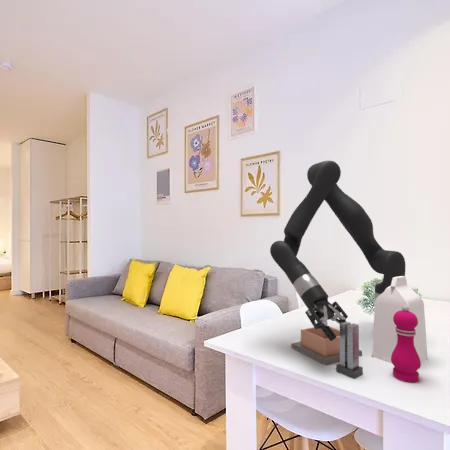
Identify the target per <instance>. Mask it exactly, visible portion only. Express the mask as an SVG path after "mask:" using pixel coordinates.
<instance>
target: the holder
mask: <svg viewBox="0 0 450 450" xmlns="http://www.w3.org/2000/svg"><path fill="white" fill-rule="evenodd" d="M328 326H329V327H330V328H331V330H332V331H333V332H334V334H335V335H336V338H335V339H334V340H333V341H330V340H329V339H328V338H327V336H326V335H325V333H324V332H323V330H320V329H319V328H318V329H315V328H314V326H312V327H308V328H302V329H300V340H299V341H296V342H291V348H292V349H293V350H296V351H298V352H300V353H302V354H304V355H305V356H307V357H310V358H311V359H313V360H315V361H317V362H319V363H321V364H323V365H325V366H328V365H331V364H335V363H336V364H337V363H338V362H339V363H340V329H337V328H335V327H332V326H330V325H328ZM361 356H363V350H361V349H359V357H361Z"/></svg>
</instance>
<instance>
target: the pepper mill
mask: <svg viewBox="0 0 450 450" xmlns="http://www.w3.org/2000/svg"><path fill="white" fill-rule="evenodd" d="M408 310H409V307H408V306H406V305H404V306H402V310H401V311H398V312H396V313H395V314H394V317H393V321H394V323H395V325H396V326H397V327H395V329H396V330H395V332H396V333H397V344H396V347H395V349H394V350H393V352H392V355H391V362H392V363H391V364H392V365H393V366H394V367H393V368H392V375H393V377H394V378H396V379H397V380H399V381H403V382H407V383H416V382H418V381H419V380H420V375H419V374H420V373H419V372H418V371H419V370H420V368H421V366H422V363H421V362H420V358H419V355H418V353H417V351H416V349H415V346H414V336H415V335H416V333H415V332H416V330H415V329H414V328H415V327H416V326H417V325H418V319H417V317H416V315H415V314H414V313H412V312H410V311H408Z"/></svg>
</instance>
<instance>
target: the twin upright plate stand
mask: <svg viewBox="0 0 450 450" xmlns="http://www.w3.org/2000/svg"><path fill="white" fill-rule="evenodd" d="M359 328H360V326H359V324H357V323H351V322H350V321H349V322H348V321H346V322H343V323H340V324H339V330H340V361H339V363H336V364H335V367H336V368H335V372H336V373H338V374H341V375H344V376H346V377H349V378H350V379H353V380H356V379H357V378H359V377H361V376H363V374H364V373H363V367H362V366H360V356H359V350H360V347H359V346H360V340H359V339H360V338H359V337H360V329H359Z"/></svg>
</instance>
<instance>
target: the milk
mask: <svg viewBox="0 0 450 450" xmlns="http://www.w3.org/2000/svg"><path fill="white" fill-rule="evenodd" d="M404 305H406V306H408V307H409V310H408V311H410V312H412V313H414V314H415V315H416V317H417V319H418V325H417V326H416V327H415V328H414V329H415V330H416V332H415V333H416V335H415V336H414V346H415V349H416V351H417V353H418V355H419V358H420V362H421V364H423V363H424V362H426V361H428V360H429V358H428V346H427V345H428V343H427V330H426V328H427V327H426V316H425V302H424V300H423V299H422V297H421V296H420V295H419V294H418V293H417V292H415V290H414V289H413V288H411V286H409V285H408V282H407V277H406V275H405V276H398V277H393V278H392V282H391V286H389V287H387V288H386V289H385V291H384V292H383V293H382V294H380V295H379V296H378V297H377V298H376V300H375V299H374V312H373V313H374V314H373V333H372V334H373V337H372V357H373V358H375V359H378V360H381V361H383V362H387V363H391V364H392V362H391V355H392V352H393V350H394V349H395V347H396V344H397V333H396V332H395V330H396V329H395V327H397V326H396V325H395V323H394V321H393V317H394V314H395V313H396V312H398V311H401V310H402V306H404ZM427 359H428V360H427ZM425 360H426V361H425Z"/></svg>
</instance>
